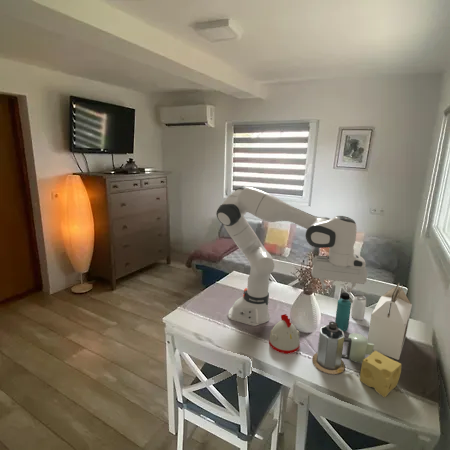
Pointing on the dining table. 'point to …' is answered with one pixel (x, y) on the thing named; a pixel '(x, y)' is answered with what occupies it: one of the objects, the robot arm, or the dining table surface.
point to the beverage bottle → (343, 312)
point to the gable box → (390, 323)
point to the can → (358, 307)
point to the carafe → (331, 352)
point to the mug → (359, 347)
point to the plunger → (332, 328)
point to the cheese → (380, 373)
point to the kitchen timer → (284, 336)
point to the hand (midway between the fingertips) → (336, 290)
